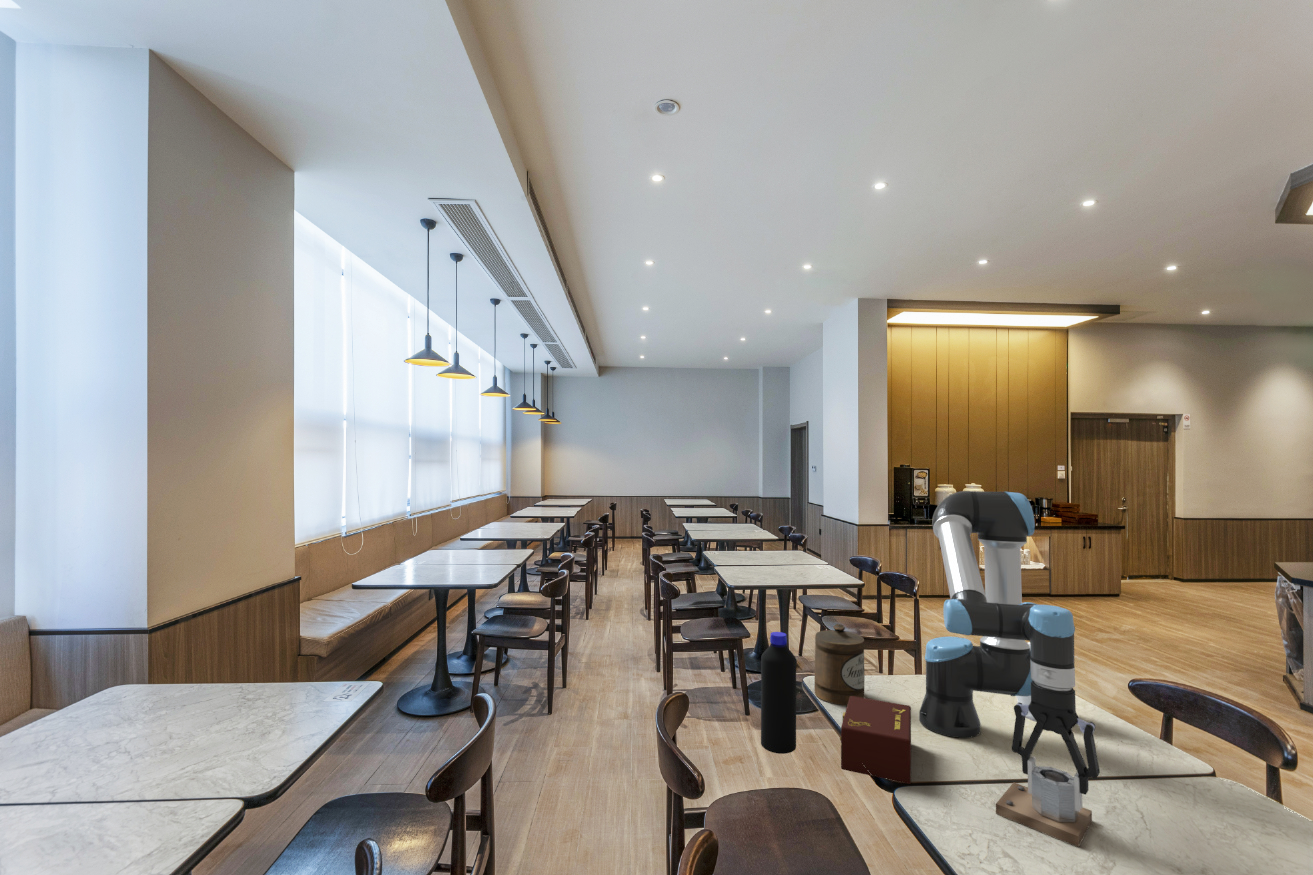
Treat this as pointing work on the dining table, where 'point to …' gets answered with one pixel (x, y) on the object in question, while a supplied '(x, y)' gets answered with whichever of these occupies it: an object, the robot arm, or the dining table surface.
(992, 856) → the dining table surface
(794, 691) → the bottle
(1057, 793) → the hub
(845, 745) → the box
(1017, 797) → the shaft block
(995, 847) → the dining table surface
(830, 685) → the wooden container
